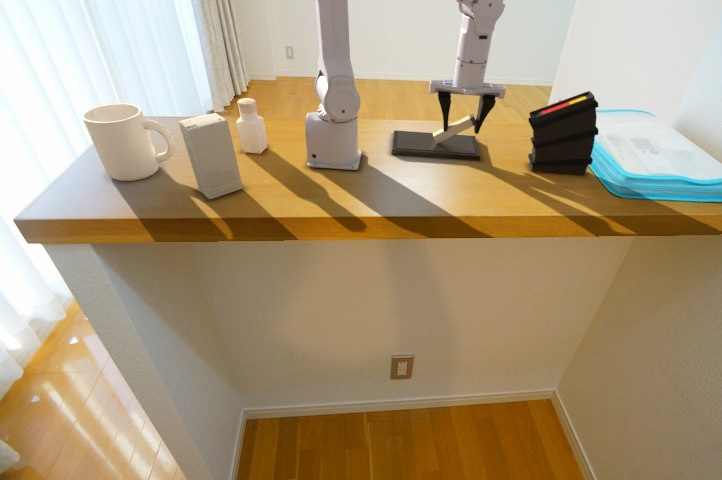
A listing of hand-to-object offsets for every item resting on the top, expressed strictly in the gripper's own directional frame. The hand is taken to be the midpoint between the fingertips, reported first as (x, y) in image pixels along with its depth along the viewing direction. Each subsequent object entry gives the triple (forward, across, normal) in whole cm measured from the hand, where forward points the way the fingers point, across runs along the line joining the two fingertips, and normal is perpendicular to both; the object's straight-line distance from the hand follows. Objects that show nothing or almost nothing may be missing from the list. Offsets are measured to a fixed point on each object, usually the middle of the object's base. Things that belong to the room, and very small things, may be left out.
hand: (460, 130), depth 85 cm
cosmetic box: (+4, -42, -23) cm, 48 cm away
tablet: (+4, -5, 0) cm, 6 cm away
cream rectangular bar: (+2, -5, 0) cm, 6 cm away
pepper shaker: (+4, -41, -7) cm, 42 cm away
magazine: (+4, +18, -7) cm, 20 cm away
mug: (+4, -57, -18) cm, 60 cm away
